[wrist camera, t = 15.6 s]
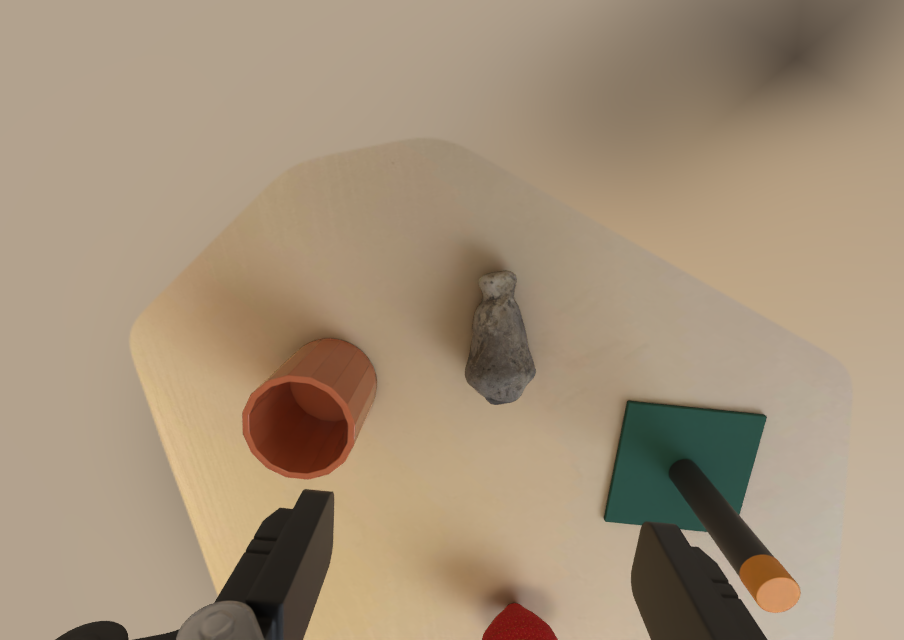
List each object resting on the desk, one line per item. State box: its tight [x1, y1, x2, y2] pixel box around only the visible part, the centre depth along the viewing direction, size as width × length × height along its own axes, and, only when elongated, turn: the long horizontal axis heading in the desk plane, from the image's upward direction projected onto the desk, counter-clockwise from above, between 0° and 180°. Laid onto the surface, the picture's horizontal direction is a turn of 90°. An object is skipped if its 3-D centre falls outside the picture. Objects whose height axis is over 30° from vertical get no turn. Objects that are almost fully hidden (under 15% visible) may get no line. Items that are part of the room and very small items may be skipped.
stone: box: [465, 271, 536, 405], centre depth 40 cm, size 10×5×8 cm
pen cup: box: [242, 338, 377, 479], centre depth 39 cm, size 8×8×9 cm
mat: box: [604, 401, 767, 532], centre depth 45 cm, size 12×12×1 cm
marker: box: [669, 459, 800, 613], centre depth 38 cm, size 3×3×14 cm
